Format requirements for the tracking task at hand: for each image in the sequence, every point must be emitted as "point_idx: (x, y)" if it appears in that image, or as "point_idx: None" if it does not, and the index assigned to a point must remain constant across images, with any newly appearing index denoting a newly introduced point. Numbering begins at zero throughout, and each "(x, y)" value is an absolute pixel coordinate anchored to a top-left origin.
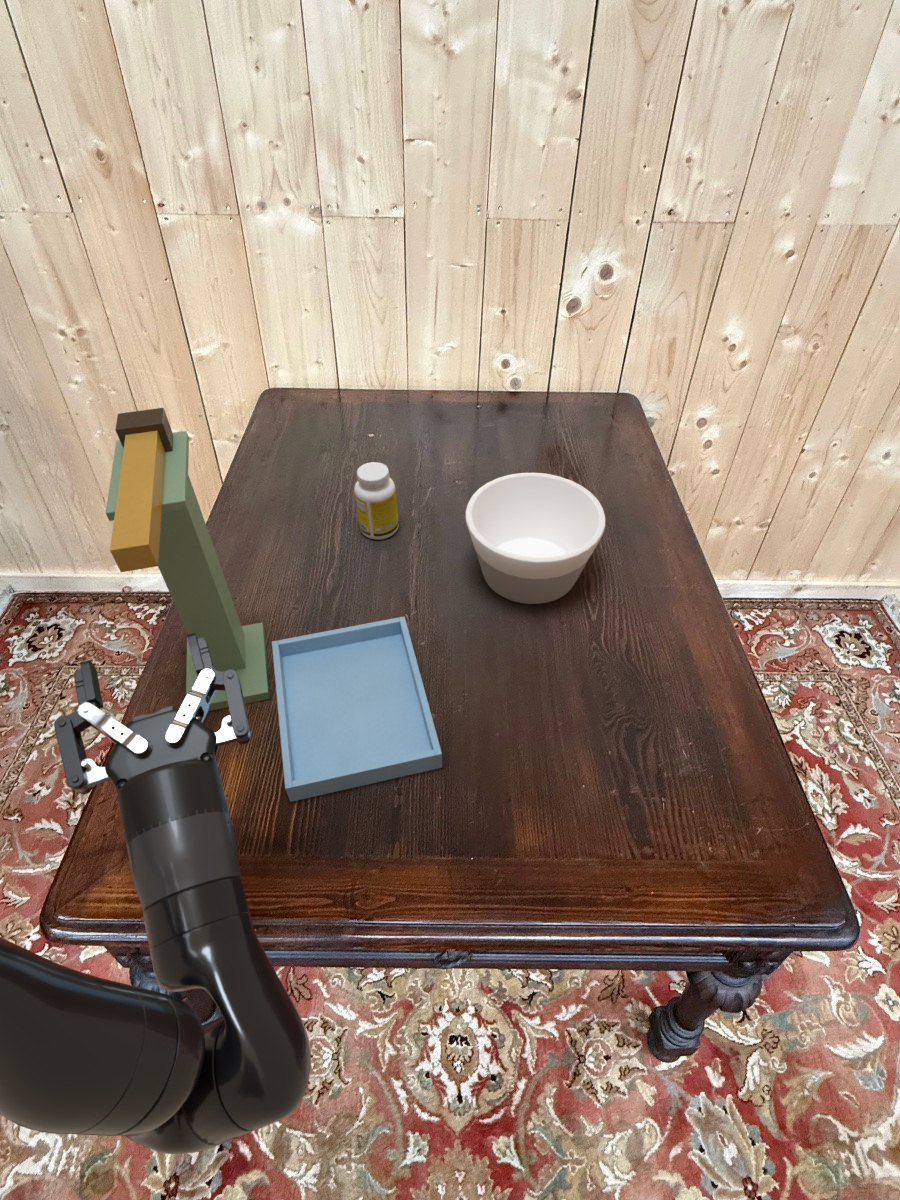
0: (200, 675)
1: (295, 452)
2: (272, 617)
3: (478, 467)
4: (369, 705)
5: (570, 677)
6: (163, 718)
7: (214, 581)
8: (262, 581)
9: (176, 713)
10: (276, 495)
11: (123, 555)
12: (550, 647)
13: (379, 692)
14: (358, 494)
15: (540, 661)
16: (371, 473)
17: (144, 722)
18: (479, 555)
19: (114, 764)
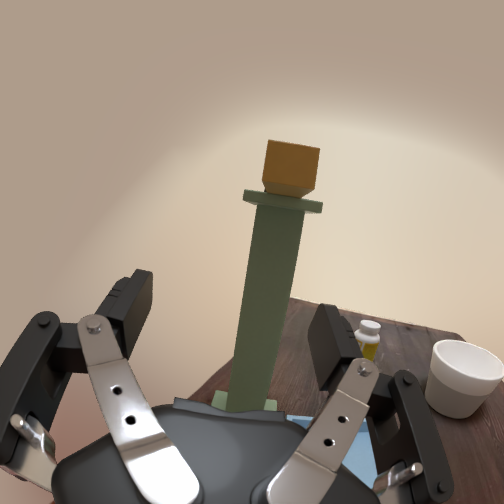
0: (352, 366)
1: (302, 322)
2: (282, 400)
3: (406, 349)
4: (363, 481)
5: (489, 458)
6: (258, 434)
7: (281, 334)
8: (277, 376)
9: (294, 433)
10: (290, 336)
11: (280, 153)
12: (475, 442)
13: (371, 472)
14: (358, 336)
15: (472, 451)
16: (370, 324)
17: (201, 424)
18: (440, 381)
19: (74, 481)
